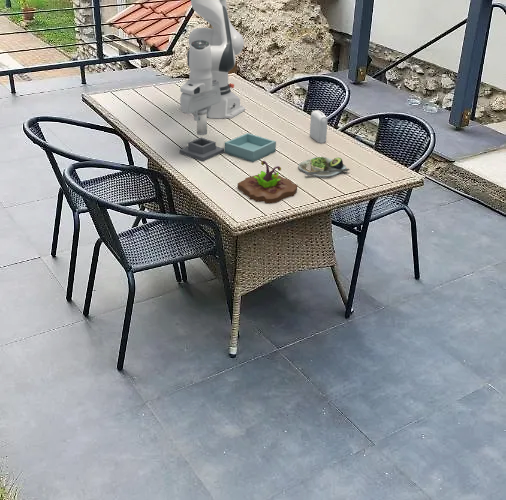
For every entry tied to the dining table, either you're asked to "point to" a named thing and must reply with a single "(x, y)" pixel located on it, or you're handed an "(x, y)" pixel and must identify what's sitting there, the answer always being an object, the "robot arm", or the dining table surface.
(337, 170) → the salad plate
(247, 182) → the plant
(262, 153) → the parts tray
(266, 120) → the dining table surface
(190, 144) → the grey square socket
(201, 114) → the cylinder
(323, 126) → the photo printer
